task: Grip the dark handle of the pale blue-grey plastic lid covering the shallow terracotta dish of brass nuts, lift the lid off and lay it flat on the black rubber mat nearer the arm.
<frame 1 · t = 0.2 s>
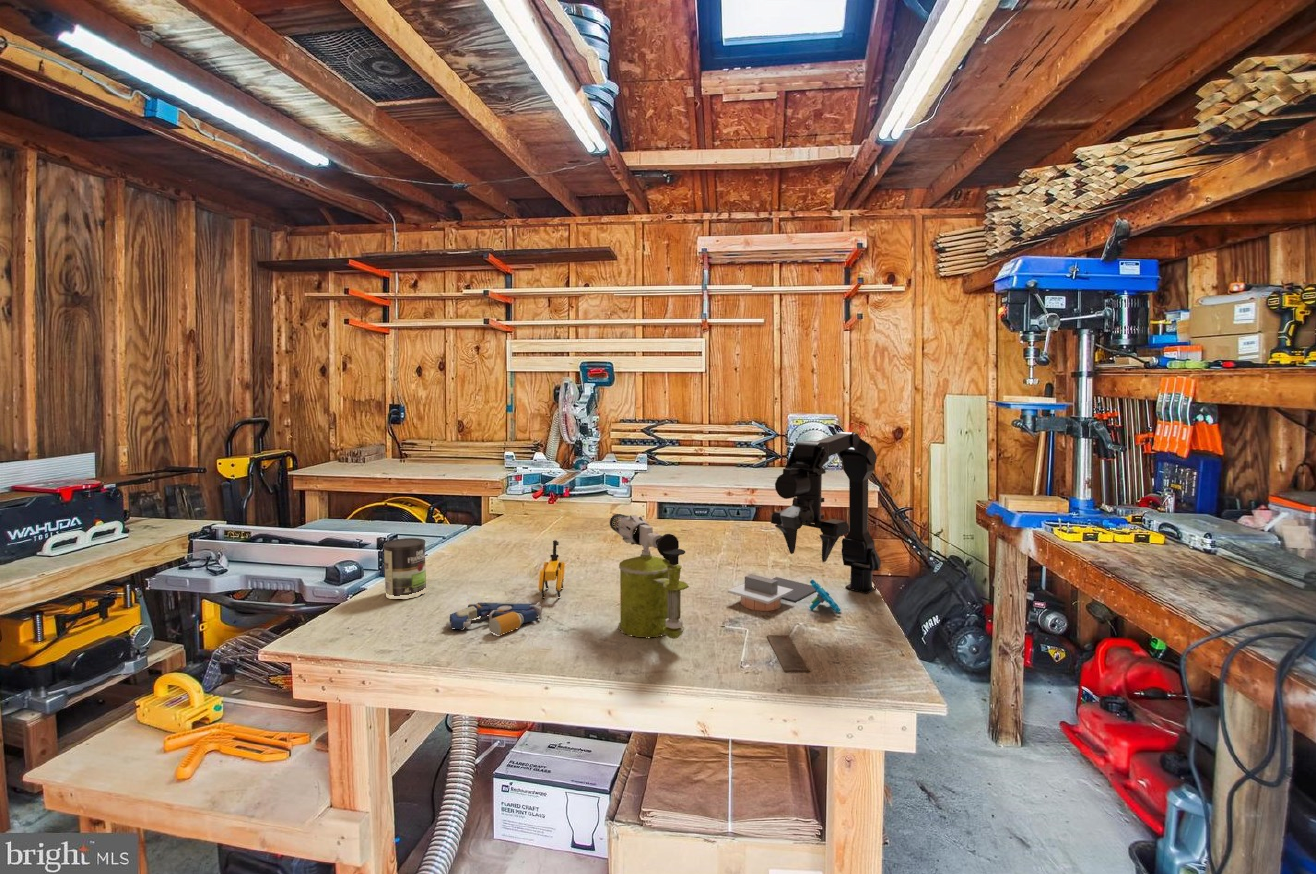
hand: (807, 557, 140), 14 cm above the table, tool pointing down, fingers open, 9 cm apart
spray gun: (495, 626, 136), on the table
gear: (824, 610, 145), on the table
blowtorch: (646, 627, 134), on the table
dish: (760, 603, 150), on the table
mat: (785, 589, 160), on the table
lid: (760, 592, 149), point 3 cm above the table, touching dish
robot dog: (553, 593, 158), on the table
wooden plank: (787, 656, 121), on the table
coffee can: (406, 594, 157), on the table
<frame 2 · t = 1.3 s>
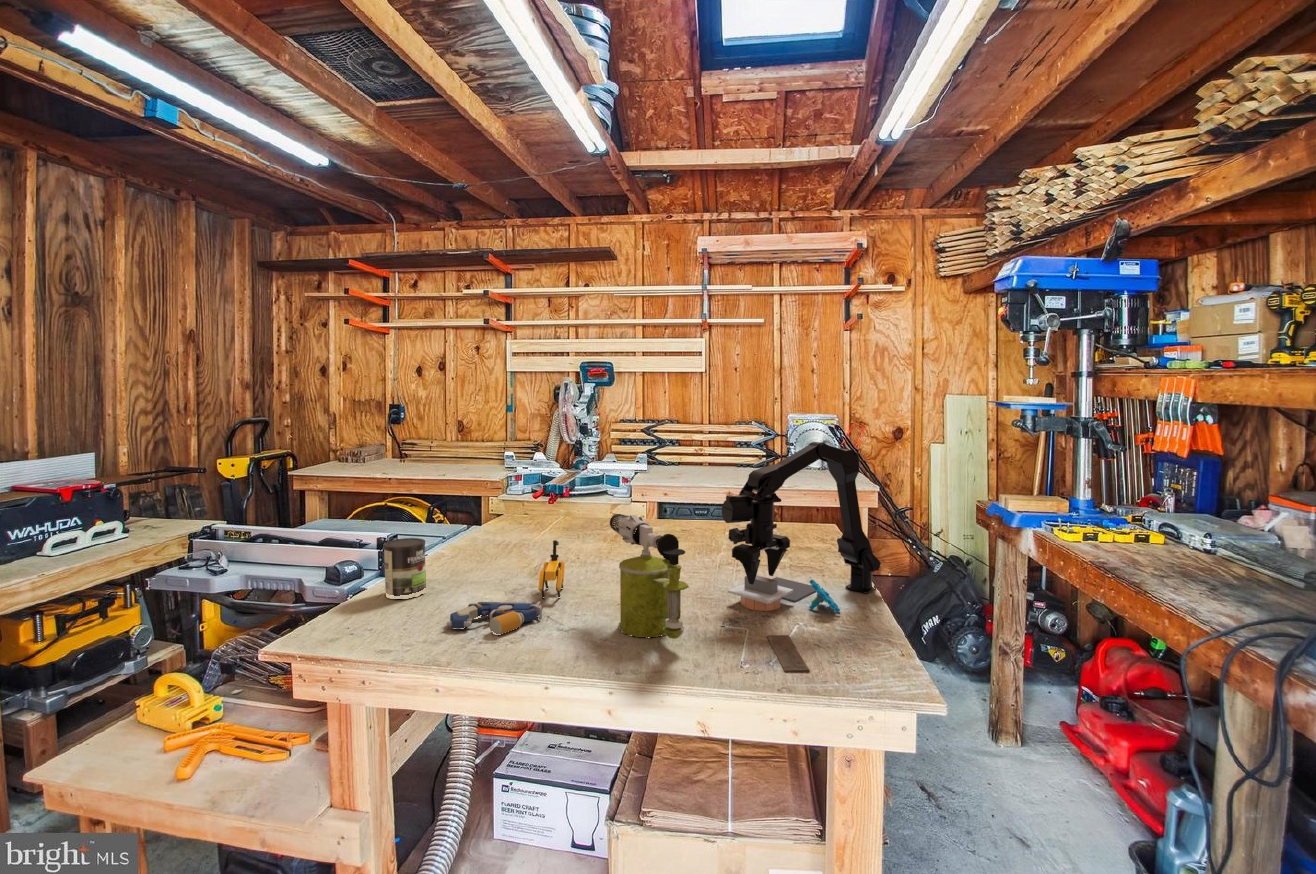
hand: (761, 579, 149), 6 cm above the table, tool pointing down, fingers open, 9 cm apart
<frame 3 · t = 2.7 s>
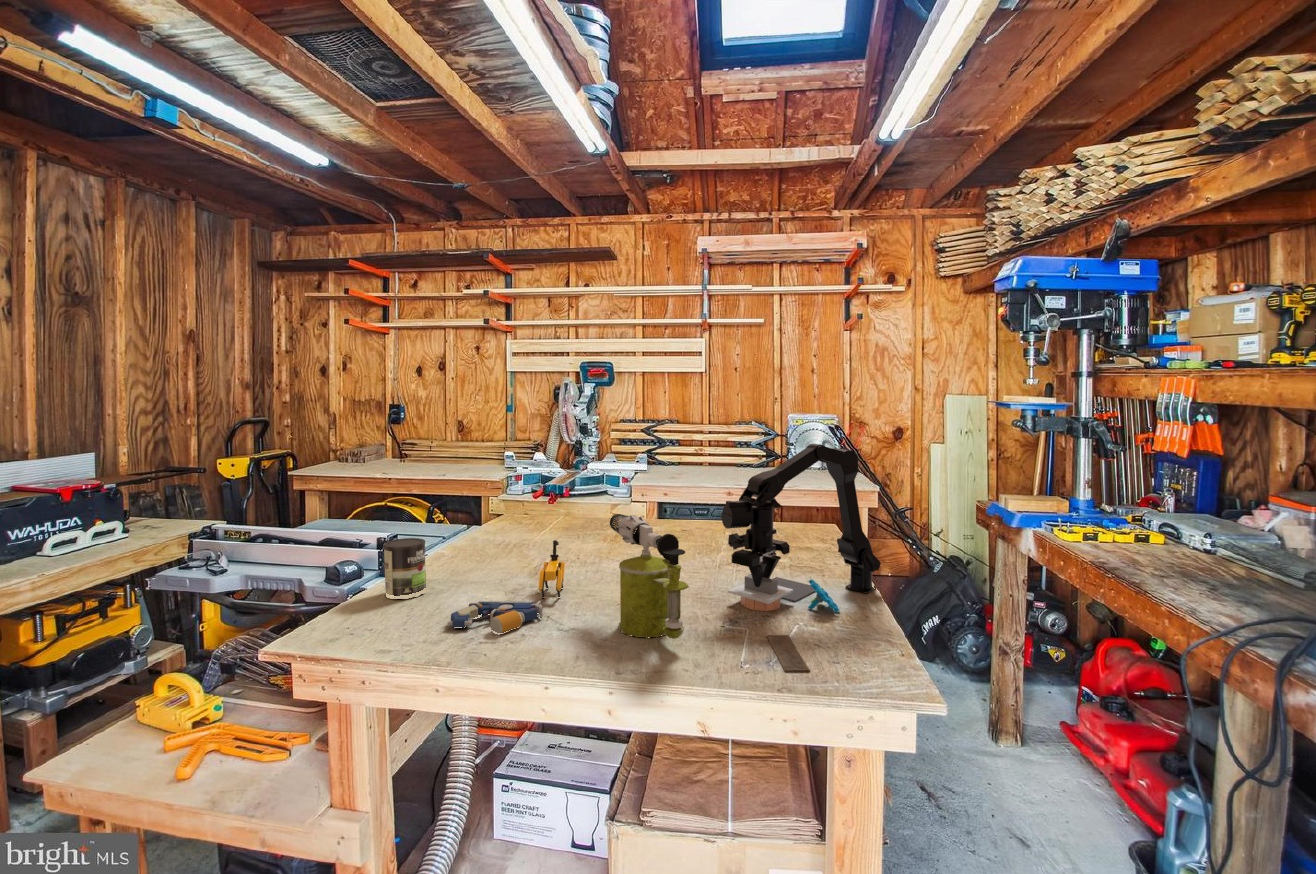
hand: (760, 585, 149), 5 cm above the table, tool pointing down, fingers closed on lid, 3 cm apart
lid: (760, 592, 149), point 3 cm above the table, touching dish, gripper
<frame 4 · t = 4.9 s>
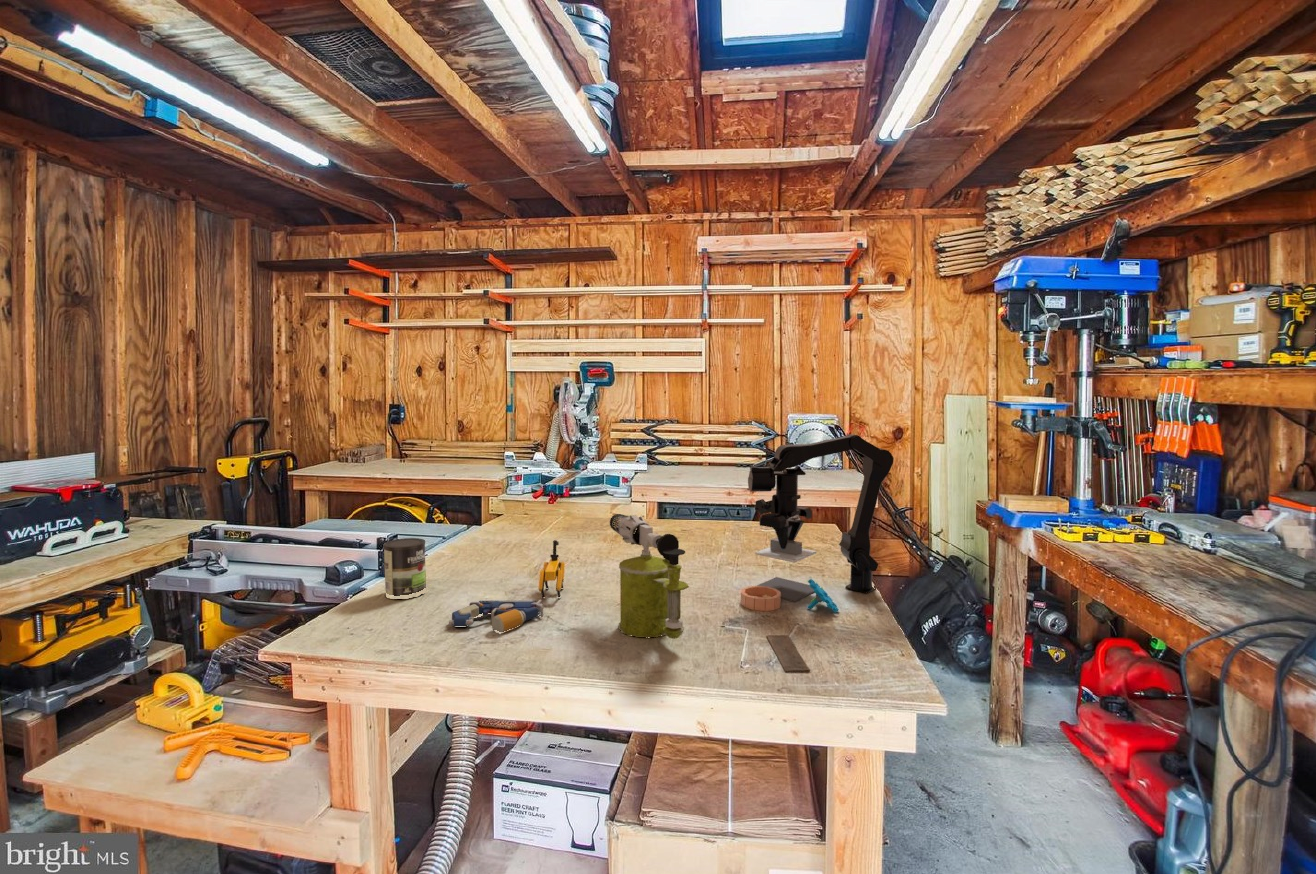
hand: (786, 547, 159), 12 cm above the table, tool pointing down, fingers closed on lid, 3 cm apart
lid: (785, 553, 160), point 10 cm above the table, touching gripper
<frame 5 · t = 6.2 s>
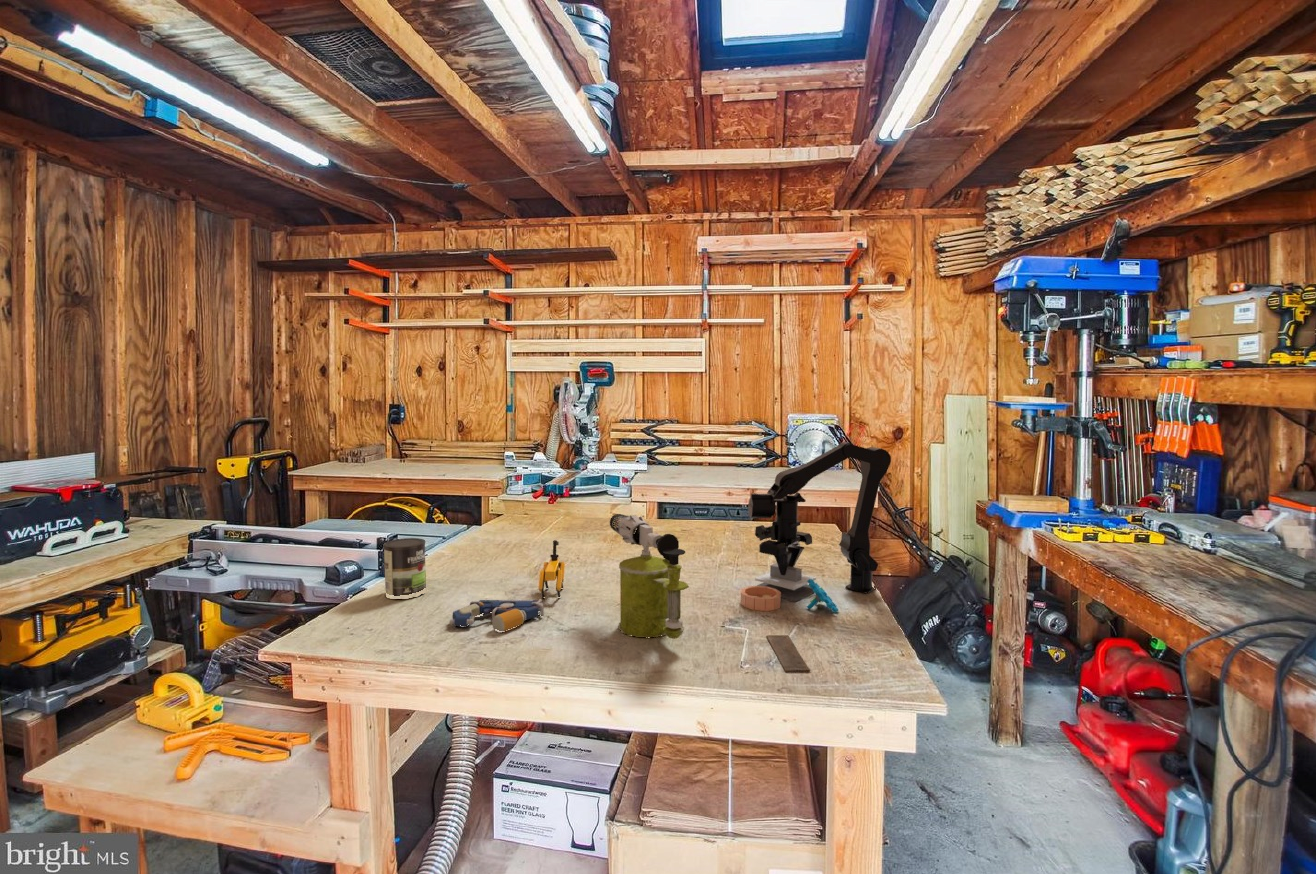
hand: (785, 573, 160), 4 cm above the table, tool pointing down, fingers closed on lid, 3 cm apart
lid: (785, 579, 160), point 3 cm above the table, touching gripper
when the fingers open (3 cm above the table, at t = 7.1 s): lid stays where it is, resting on mat.
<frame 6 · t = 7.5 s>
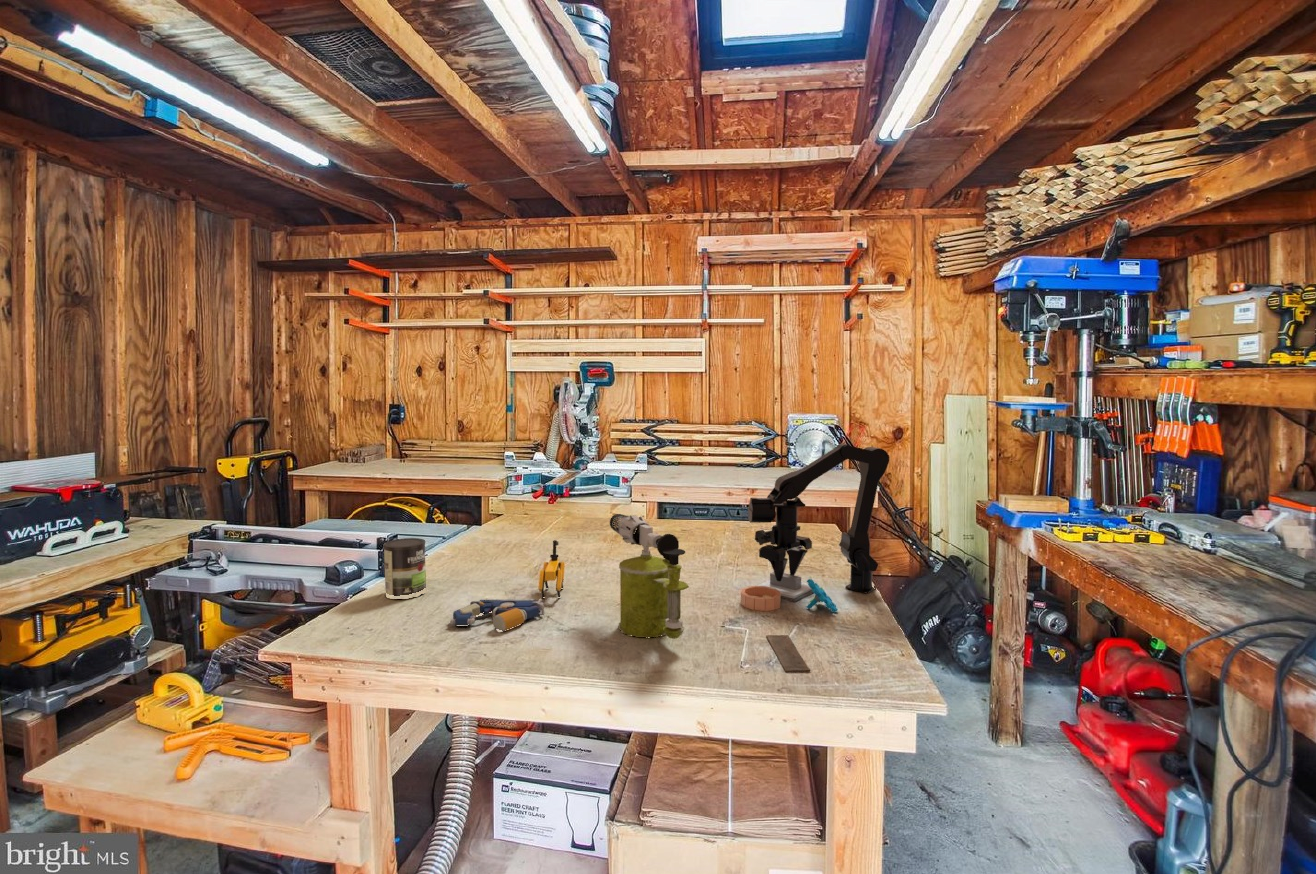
hand: (785, 578, 160), 3 cm above the table, tool pointing down, fingers open, 7 cm apart
lid: (785, 588, 160), resting on mat
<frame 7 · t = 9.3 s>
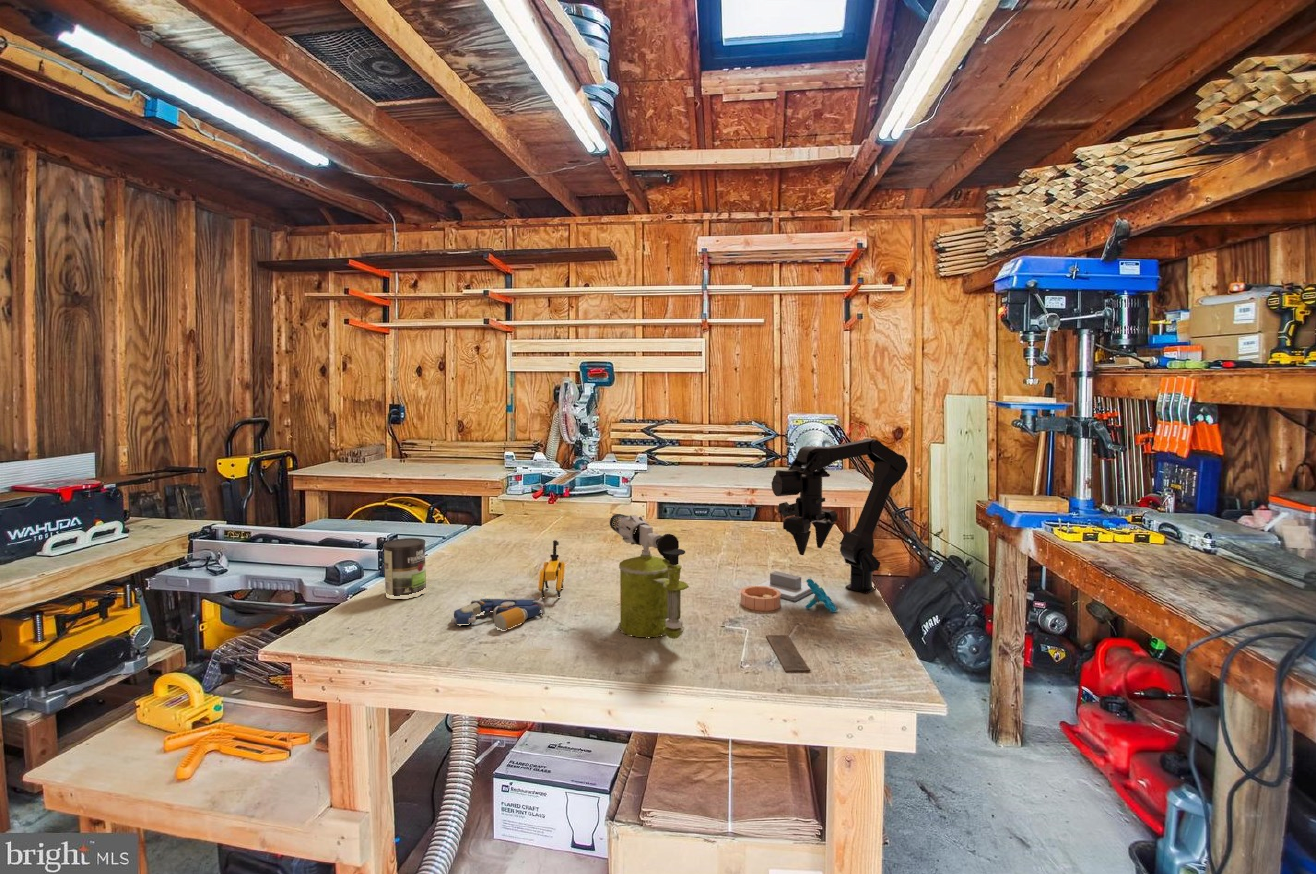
hand: (810, 551, 156), 12 cm above the table, tool pointing down, fingers open, 9 cm apart
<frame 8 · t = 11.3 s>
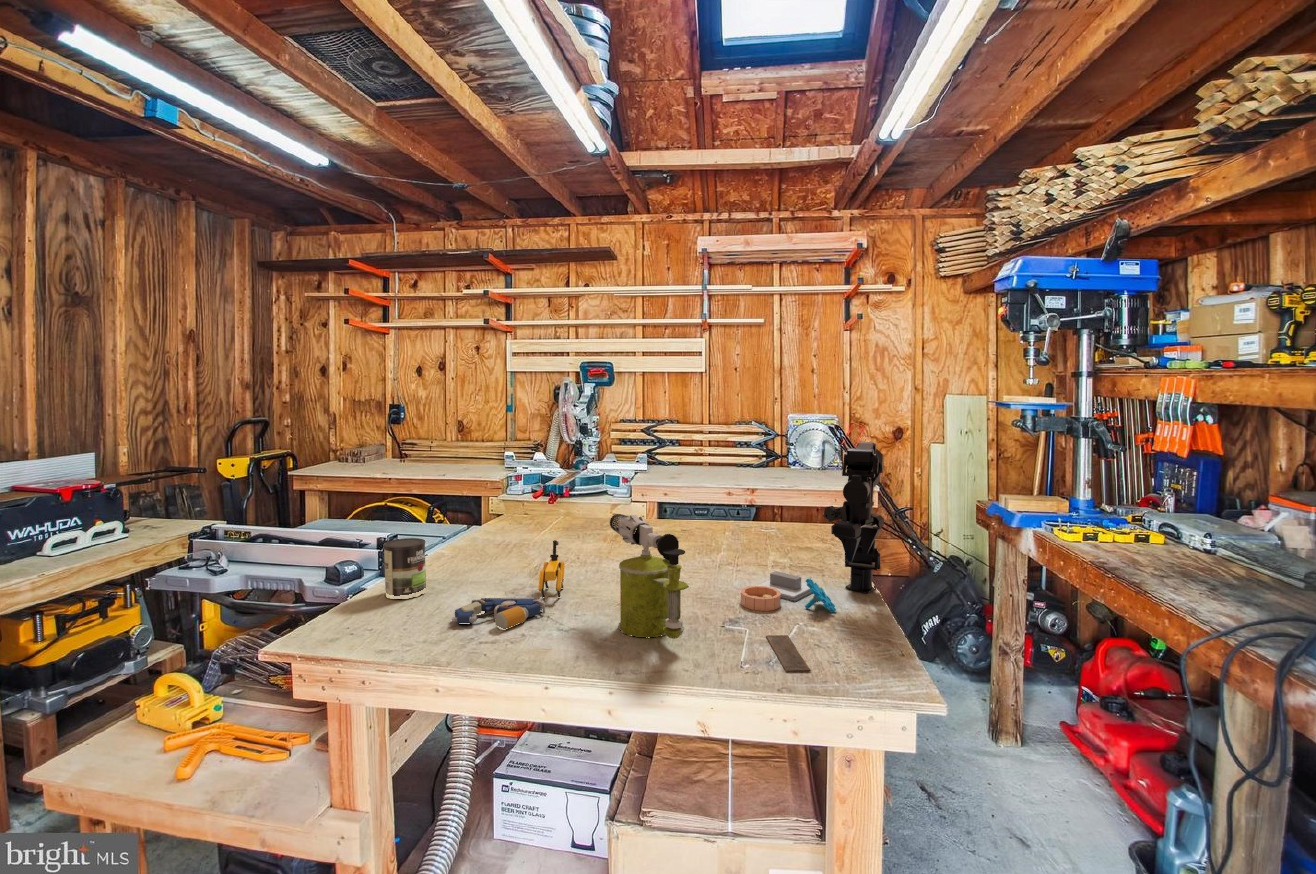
hand: (857, 557, 149), 12 cm above the table, tool pointing down, fingers open, 9 cm apart
at the end: lid inside the target area on the mat (0.0 cm from its centre), point 0.4 cm above the mat's base; lid tilted 0°; the gripper is holding nothing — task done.
